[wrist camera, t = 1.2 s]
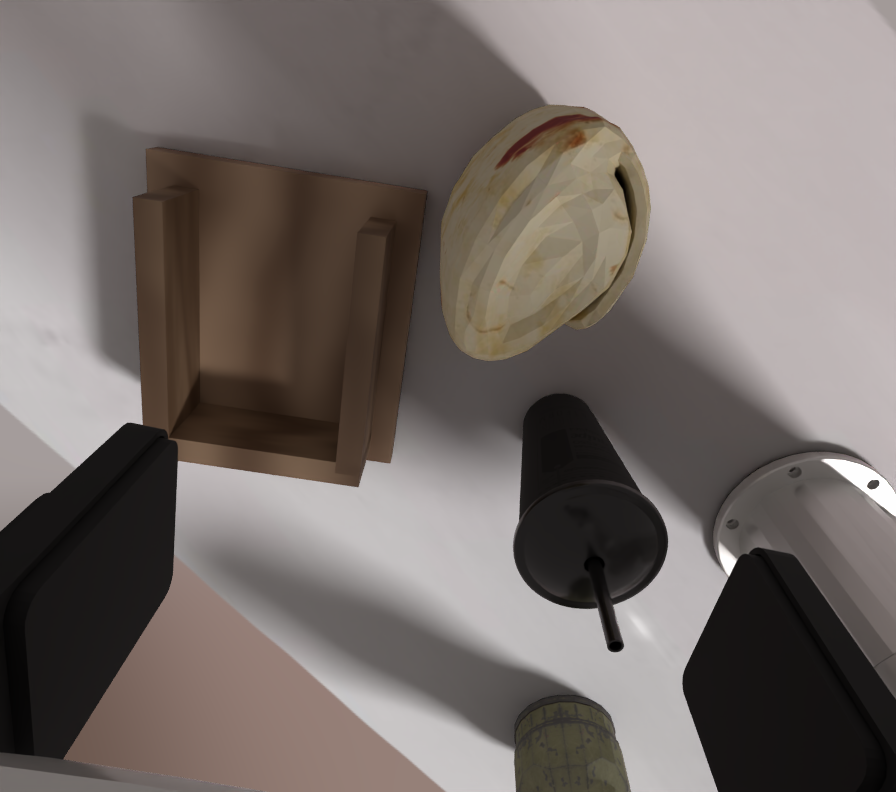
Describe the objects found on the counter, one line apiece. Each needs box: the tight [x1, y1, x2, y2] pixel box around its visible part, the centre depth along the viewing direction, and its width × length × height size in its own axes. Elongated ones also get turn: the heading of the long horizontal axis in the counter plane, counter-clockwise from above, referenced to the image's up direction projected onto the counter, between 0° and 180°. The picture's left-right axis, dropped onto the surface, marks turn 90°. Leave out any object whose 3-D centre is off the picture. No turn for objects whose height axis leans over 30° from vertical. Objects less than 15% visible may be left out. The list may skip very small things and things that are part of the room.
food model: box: [440, 105, 651, 361], centre depth 30 cm, size 10×7×20 cm
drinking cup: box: [513, 394, 668, 652], centre depth 36 cm, size 8×8×20 cm
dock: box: [133, 147, 427, 487], centre depth 40 cm, size 16×18×6 cm
